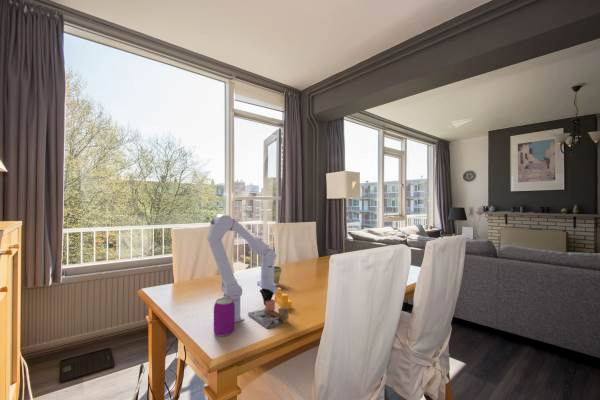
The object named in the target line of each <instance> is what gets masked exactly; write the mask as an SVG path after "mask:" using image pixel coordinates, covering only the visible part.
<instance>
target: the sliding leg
mask: <svg viewBox="0 0 600 400" xmlns="http://www.w3.org/2000/svg"><path fill="white" fill-rule="evenodd" d="M265 308H266V309H264V308H263V309H261V310H259V309H258V310H259V311H256V310H254V311H255V313H258V312H262V311H265V310H266V311H272V310H274V311H276V302H275V299H273V298H272V299H271V300H268V301H266V306H265Z"/></svg>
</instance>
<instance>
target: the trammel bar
mask: <svg viewBox="0 0 600 400" xmlns="http://www.w3.org/2000/svg"><path fill="white" fill-rule="evenodd" d="M263 309H266V307H264V308H263ZM264 312H265V313H267V314H269V315H270V316H272V317H273V318H272V319H269V320H267V321H268V322H269V321H272V320H276V319H277V320H278V321H280V322H281V323H280V324H286V323H288V319H289V316H290V315H289V314H290V312H289V308H287V307H284V308H281V307H280V308H278V312H277V311H276V310H272V311H266V310H265V311H264Z"/></svg>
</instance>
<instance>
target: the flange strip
mask: <svg viewBox="0 0 600 400" xmlns="http://www.w3.org/2000/svg"><path fill="white" fill-rule="evenodd" d="M259 310H262V309H257V310H253V311H252V310H251V311H250V312H249V311H248V312H247V316H249V317H250V318H252V320H254V321H255V322H257V323H258V324H260V325H261V326H263V327H264V328H265V329H267V330H269V329H272V328H275V327H279V326H281V324H282V323H281V322H280V321H278V320H277V319H276V320H272V321H269V322H268V321H267V320H269V319H272V318H273V317H272V316H270V315H269V314H267V313H265V312H264V311H262V312H258V313H255V311H259Z"/></svg>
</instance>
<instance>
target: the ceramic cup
mask: <svg viewBox="0 0 600 400" xmlns="http://www.w3.org/2000/svg"><path fill="white" fill-rule="evenodd" d="M281 274H282V267H281V266H277V265H274V283H275V284H276V285H275V286H276V287H278V286H279V283H280V279H281Z"/></svg>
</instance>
